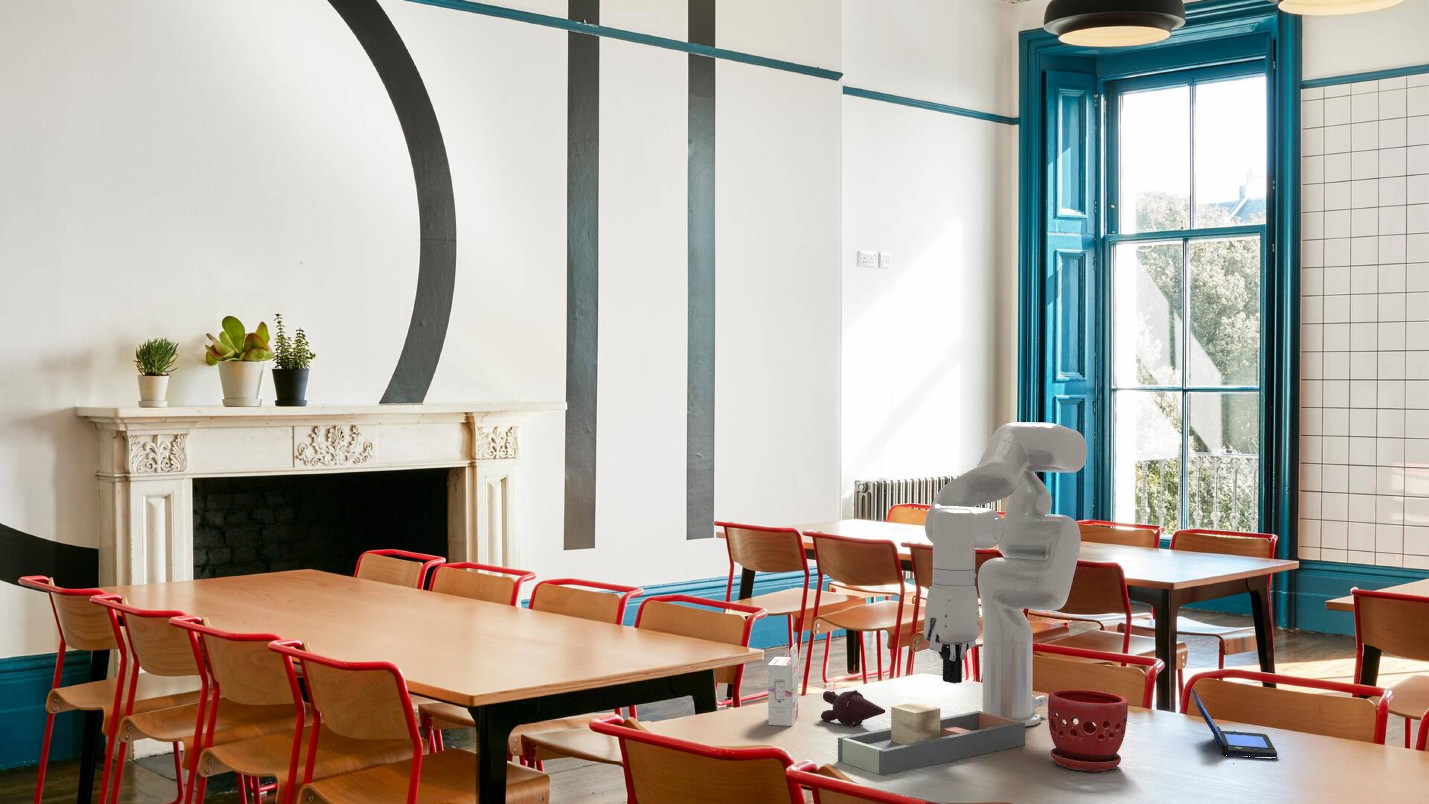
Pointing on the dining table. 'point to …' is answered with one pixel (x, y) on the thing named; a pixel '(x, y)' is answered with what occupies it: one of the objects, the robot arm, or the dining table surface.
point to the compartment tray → (932, 744)
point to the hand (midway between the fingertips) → (952, 681)
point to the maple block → (914, 723)
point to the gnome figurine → (849, 708)
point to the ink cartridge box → (783, 689)
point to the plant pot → (1087, 728)
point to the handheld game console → (1237, 738)
